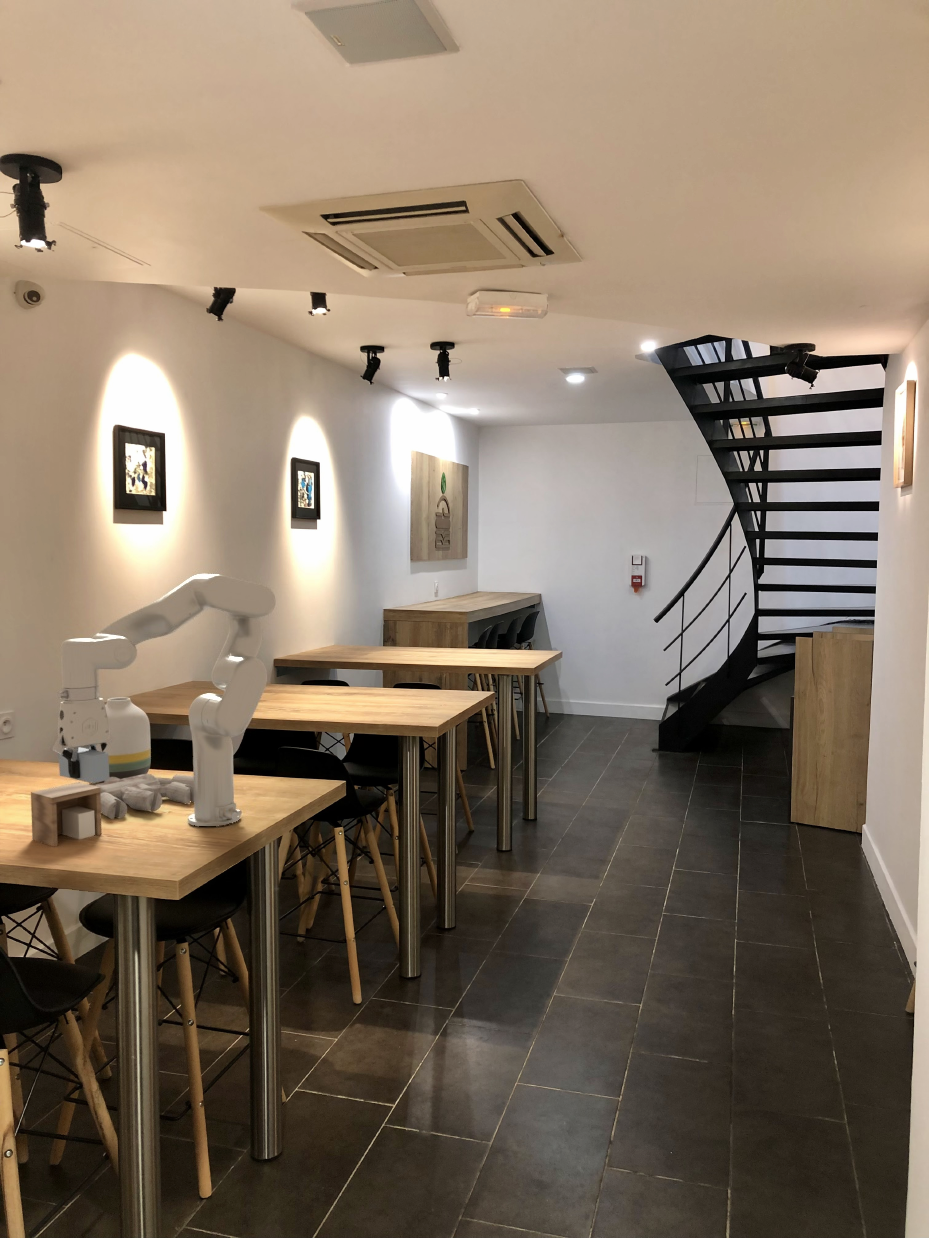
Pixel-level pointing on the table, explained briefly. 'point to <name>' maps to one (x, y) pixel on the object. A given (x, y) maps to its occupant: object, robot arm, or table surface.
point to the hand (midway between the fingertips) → (84, 774)
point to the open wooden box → (54, 801)
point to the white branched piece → (143, 793)
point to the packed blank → (78, 822)
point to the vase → (127, 739)
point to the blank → (88, 765)
